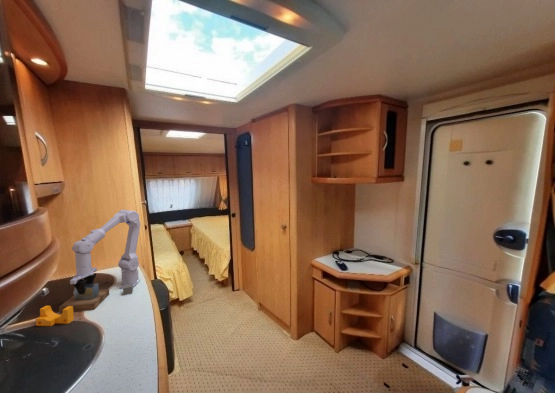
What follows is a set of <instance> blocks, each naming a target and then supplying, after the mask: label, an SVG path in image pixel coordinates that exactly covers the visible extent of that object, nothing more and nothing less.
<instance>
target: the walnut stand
mask: <svg viewBox="0 0 555 393" xmlns="http://www.w3.org/2000/svg"><path fill="white" fill-rule="evenodd" d="M108 296H110V289H109V288H108V289H107V288H105V289H99V295H98V296H97V297H95V298H94V299H91V300H75V295H73V296H71V297H70V298H69V299H67V300H66V301H65V302H64V303H62V304H61V305H59V306H58V314H62V313H63V309H65V308H66V307H68V306H73V313H75V312H84V311H95V310H96V309H97V308H98V307H99V306H100V304H102V302H104V301H105V299H107V297H108Z"/></svg>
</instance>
